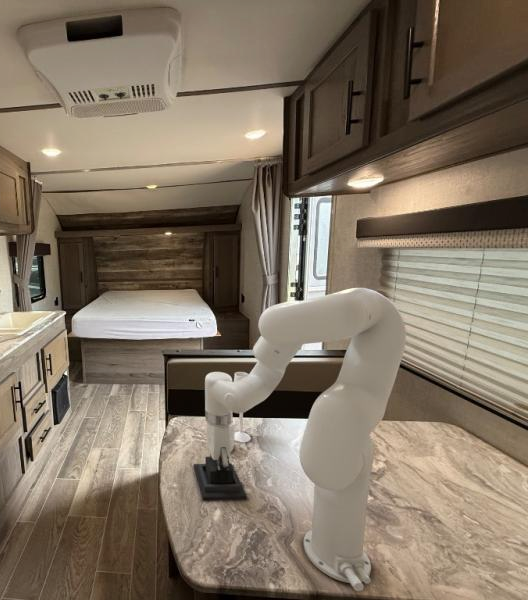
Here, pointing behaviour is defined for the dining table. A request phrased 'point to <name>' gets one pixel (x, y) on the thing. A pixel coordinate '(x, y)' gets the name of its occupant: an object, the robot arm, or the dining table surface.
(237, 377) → the champagne flute
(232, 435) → the white cup
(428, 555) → the dining table surface
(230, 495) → the base pad
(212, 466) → the black pad
